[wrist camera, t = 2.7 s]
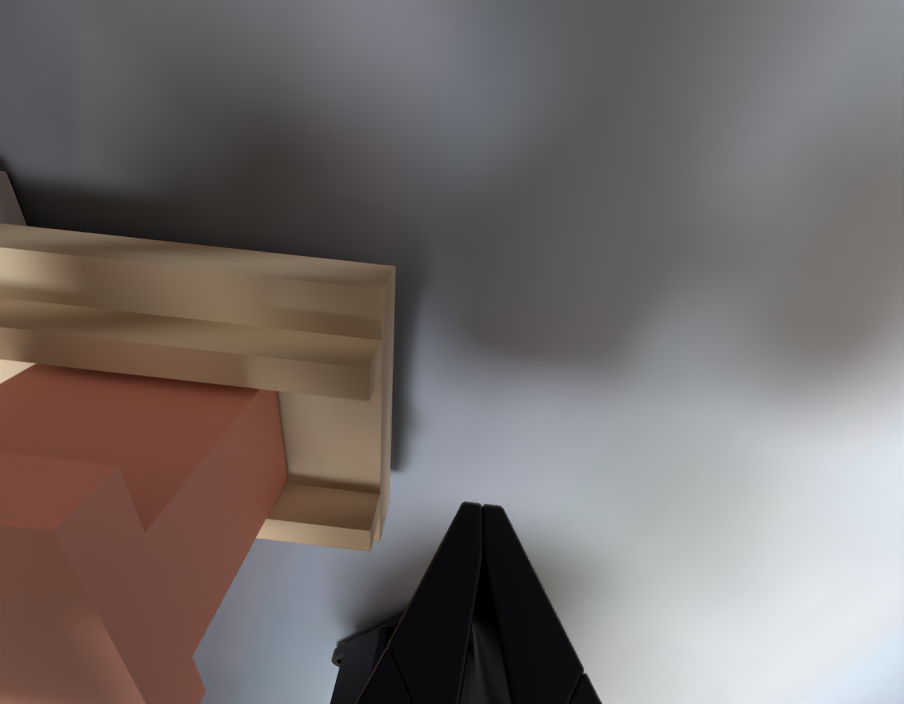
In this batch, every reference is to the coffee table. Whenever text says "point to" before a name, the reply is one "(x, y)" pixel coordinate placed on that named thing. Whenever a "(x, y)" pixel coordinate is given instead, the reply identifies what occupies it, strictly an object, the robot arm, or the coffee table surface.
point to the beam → (225, 348)
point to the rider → (123, 528)
